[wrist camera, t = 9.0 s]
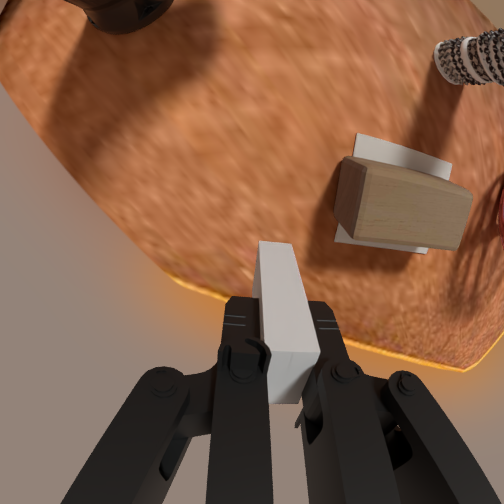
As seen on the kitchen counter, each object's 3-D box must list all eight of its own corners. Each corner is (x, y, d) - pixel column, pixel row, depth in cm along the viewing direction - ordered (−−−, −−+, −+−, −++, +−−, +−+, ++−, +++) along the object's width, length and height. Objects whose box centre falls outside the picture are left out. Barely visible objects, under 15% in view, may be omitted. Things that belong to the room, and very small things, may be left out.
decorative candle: (465, 95, 31) (573, 111, 9) (429, 72, 30) (545, 67, 8) (469, 56, 27) (569, 56, 5) (433, 31, 26) (537, 9, 4)
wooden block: (330, 216, 42) (428, 229, 43) (350, 243, 33) (458, 253, 34) (340, 153, 38) (441, 177, 38) (366, 164, 29) (476, 193, 29)
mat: (356, 132, 36) (357, 133, 36) (451, 163, 37) (452, 164, 37) (334, 241, 44) (334, 241, 44) (425, 253, 46) (426, 253, 45)
